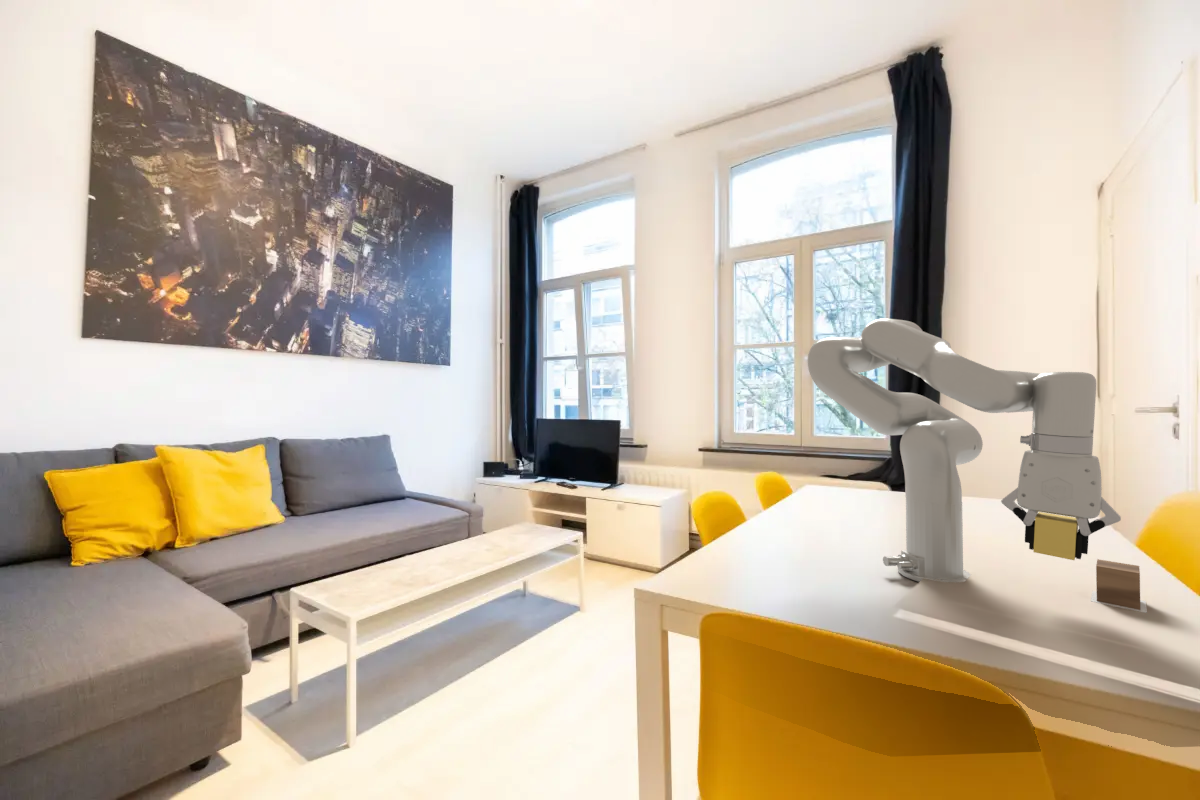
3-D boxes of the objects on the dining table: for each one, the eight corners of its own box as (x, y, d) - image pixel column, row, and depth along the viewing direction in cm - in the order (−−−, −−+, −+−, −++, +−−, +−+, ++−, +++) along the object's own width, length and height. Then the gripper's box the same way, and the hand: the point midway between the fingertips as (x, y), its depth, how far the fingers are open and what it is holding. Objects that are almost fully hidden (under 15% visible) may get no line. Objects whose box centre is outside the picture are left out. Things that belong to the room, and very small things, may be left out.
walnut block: (1140, 609, 80) (1139, 573, 80) (1096, 601, 84) (1096, 565, 84) (1139, 601, 83) (1139, 565, 83) (1097, 592, 87) (1097, 559, 87)
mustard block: (1074, 560, 79) (1076, 523, 79) (1033, 552, 83) (1035, 517, 83) (1076, 553, 83) (1078, 518, 82) (1037, 545, 86) (1038, 511, 86)
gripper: (992, 442, 86) (987, 544, 87) (1136, 454, 73) (1129, 573, 74) (999, 438, 91) (995, 535, 92) (1135, 449, 78) (1128, 561, 79)
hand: (1055, 551), depth 83 cm, fingers closed on mustard block, 5 cm apart
